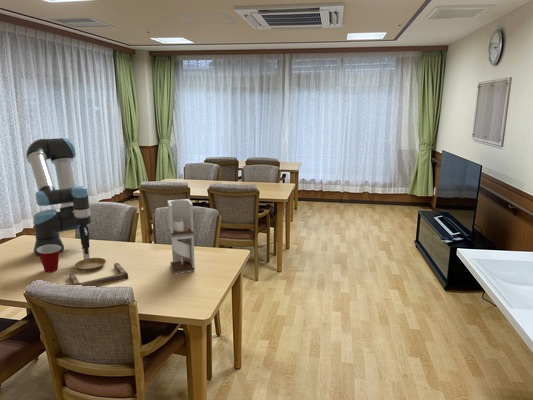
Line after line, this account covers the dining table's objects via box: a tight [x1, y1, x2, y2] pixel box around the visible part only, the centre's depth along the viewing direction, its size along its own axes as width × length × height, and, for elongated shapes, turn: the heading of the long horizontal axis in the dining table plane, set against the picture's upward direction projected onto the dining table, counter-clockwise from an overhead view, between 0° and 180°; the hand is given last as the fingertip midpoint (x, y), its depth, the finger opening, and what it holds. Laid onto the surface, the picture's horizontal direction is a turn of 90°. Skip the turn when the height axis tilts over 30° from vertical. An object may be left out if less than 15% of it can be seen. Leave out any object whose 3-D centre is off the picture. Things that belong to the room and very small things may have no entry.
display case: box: [167, 198, 196, 275], centre depth 197 cm, size 11×11×35 cm
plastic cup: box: [36, 245, 61, 273], centre depth 196 cm, size 11×11×12 cm
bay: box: [68, 262, 129, 287], centre depth 188 cm, size 16×23×2 cm
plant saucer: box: [74, 257, 107, 273], centre depth 201 cm, size 15×15×3 cm
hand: (86, 259), depth 208 cm, fingers closed
